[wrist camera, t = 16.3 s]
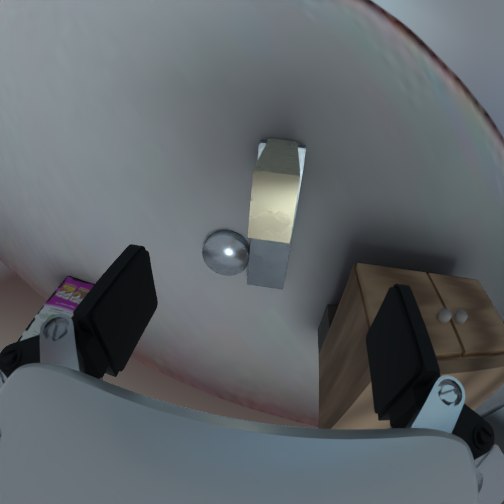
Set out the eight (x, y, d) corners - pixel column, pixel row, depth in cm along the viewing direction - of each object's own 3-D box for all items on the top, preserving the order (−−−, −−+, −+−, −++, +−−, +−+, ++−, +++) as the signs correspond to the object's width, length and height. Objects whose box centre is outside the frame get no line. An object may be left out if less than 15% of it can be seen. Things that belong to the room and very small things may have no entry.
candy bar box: (75, 296, 40) (25, 367, 27) (67, 274, 37) (10, 346, 24) (127, 315, 40) (80, 399, 26) (122, 292, 37) (66, 381, 23)
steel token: (229, 220, 29) (226, 227, 27) (259, 254, 30) (258, 262, 29) (197, 244, 31) (193, 251, 30) (226, 273, 33) (224, 282, 31)
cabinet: (466, 252, 26) (529, 355, 12) (417, 338, 35) (441, 434, 21) (346, 231, 27) (381, 367, 14) (315, 332, 36) (314, 445, 22)
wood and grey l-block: (305, 140, 23) (316, 178, 13) (283, 280, 32) (275, 364, 22) (261, 134, 23) (237, 168, 14) (248, 276, 32) (229, 357, 23)
